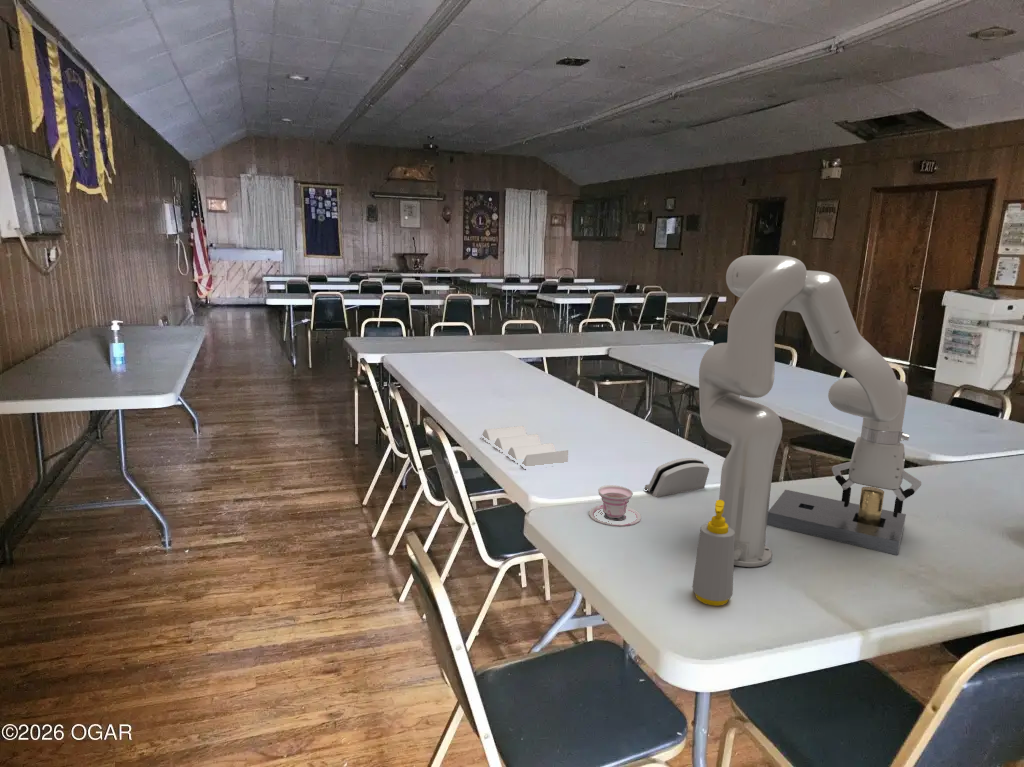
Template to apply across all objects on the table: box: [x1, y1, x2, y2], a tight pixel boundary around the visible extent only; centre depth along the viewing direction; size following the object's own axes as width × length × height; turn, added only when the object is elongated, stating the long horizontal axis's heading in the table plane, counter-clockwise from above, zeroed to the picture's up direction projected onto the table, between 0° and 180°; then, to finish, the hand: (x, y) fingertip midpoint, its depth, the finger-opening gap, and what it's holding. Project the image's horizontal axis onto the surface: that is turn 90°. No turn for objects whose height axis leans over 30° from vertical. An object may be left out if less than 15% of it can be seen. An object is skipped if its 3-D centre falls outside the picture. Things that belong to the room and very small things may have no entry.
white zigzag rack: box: [481, 425, 569, 466], centre depth 202 cm, size 13×35×5 cm, turn 24°
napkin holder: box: [643, 457, 710, 498], centre depth 170 cm, size 17×5×10 cm, turn 118°
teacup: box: [588, 484, 642, 527], centre depth 153 cm, size 12×12×6 cm
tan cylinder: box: [857, 486, 885, 527], centre depth 146 cm, size 4×4×10 cm
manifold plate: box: [767, 489, 907, 556], centre depth 151 cm, size 18×26×3 cm
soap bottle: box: [691, 499, 735, 607], centre depth 116 cm, size 7×7×18 cm
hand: (870, 510), depth 146 cm, fingers open, 9 cm apart
